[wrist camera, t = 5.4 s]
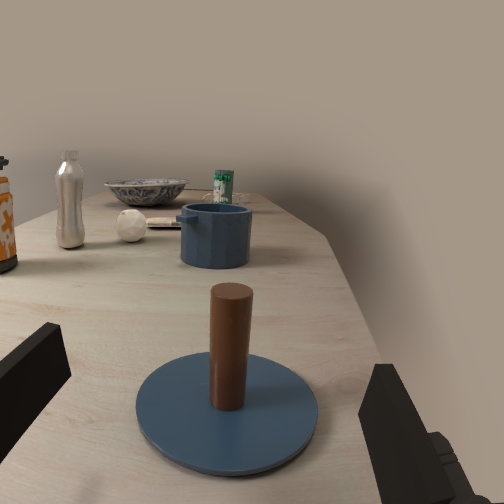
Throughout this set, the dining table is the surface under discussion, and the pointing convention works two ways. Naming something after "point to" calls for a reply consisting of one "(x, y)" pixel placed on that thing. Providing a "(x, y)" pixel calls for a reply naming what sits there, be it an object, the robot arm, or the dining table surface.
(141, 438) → the dining table surface
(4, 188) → the canister
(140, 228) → the ornament
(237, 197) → the eyeglasses
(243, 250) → the pot
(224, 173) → the can
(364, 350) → the dining table surface
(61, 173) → the metal water bottle
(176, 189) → the ceramic bowl
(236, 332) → the lid
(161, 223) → the newspaper
